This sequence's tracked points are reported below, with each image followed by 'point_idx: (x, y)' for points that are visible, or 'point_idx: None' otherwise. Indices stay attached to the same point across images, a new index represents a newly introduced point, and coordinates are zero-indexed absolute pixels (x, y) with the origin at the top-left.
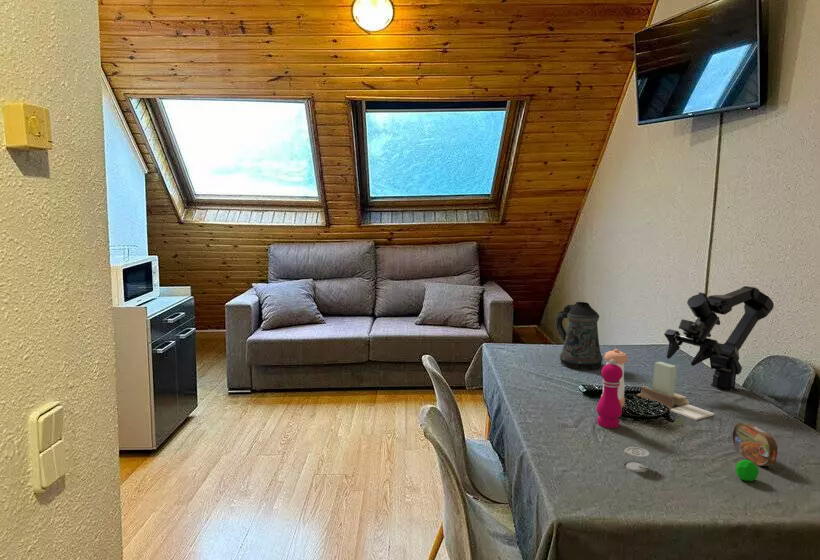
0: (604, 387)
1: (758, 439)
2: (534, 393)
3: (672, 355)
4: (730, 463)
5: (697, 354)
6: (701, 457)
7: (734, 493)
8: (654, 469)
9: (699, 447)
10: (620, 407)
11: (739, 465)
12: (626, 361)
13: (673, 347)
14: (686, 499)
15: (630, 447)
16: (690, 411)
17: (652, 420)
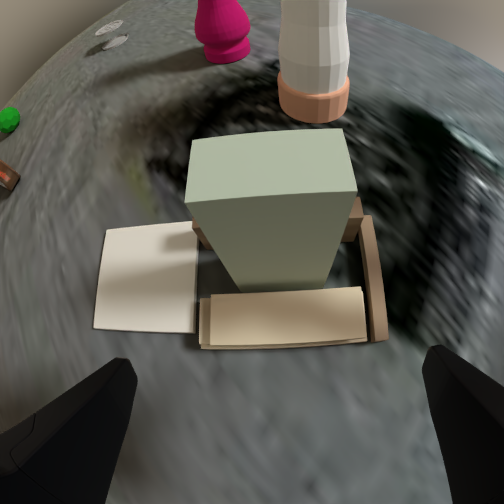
0: None
1: None
2: (434, 56)
3: (436, 431)
4: (27, 137)
5: (42, 428)
6: (57, 112)
7: (26, 100)
8: (97, 54)
9: (64, 129)
10: (195, 25)
11: (11, 107)
12: None
13: (495, 469)
14: (60, 60)
15: (118, 24)
16: (144, 266)
17: (184, 125)
